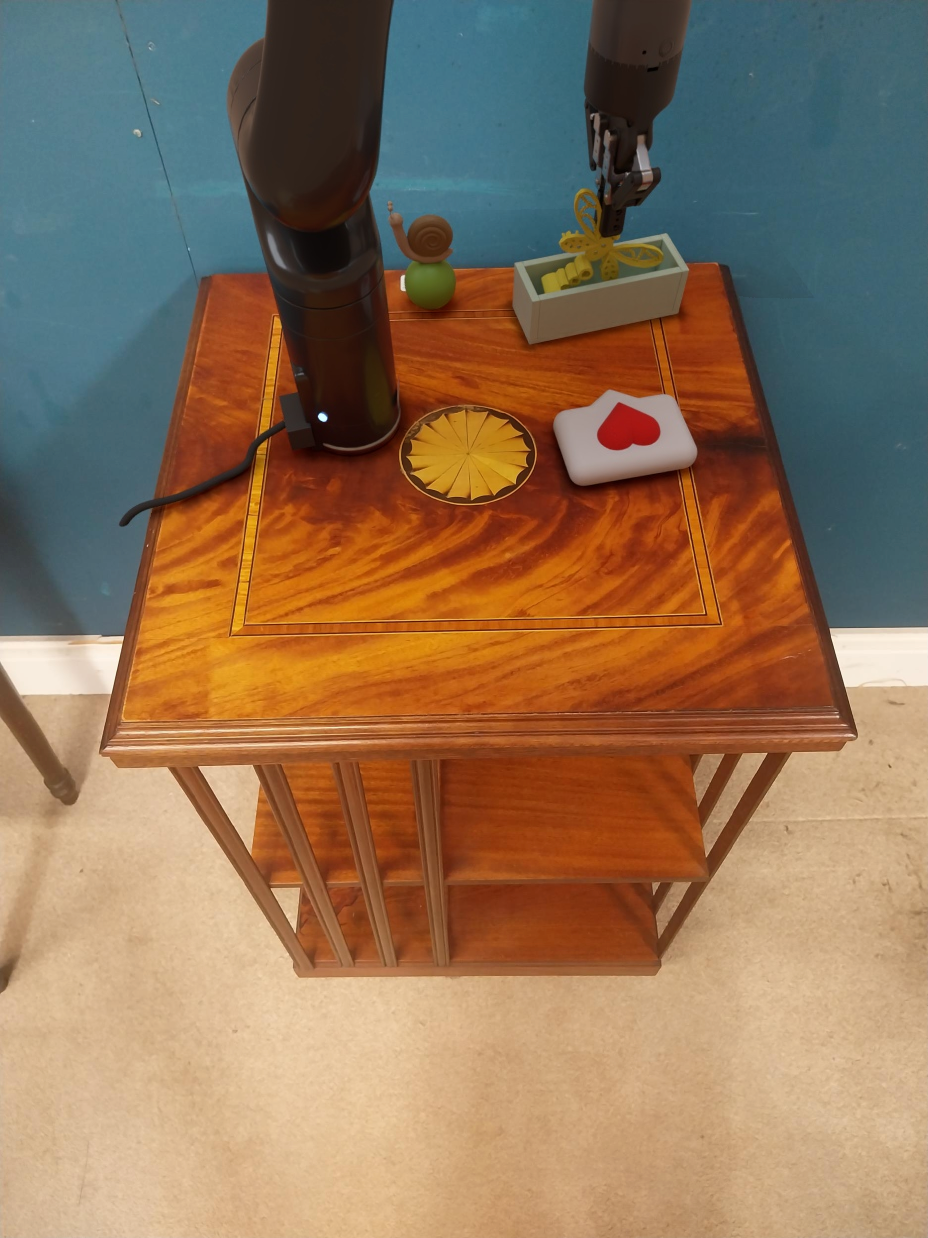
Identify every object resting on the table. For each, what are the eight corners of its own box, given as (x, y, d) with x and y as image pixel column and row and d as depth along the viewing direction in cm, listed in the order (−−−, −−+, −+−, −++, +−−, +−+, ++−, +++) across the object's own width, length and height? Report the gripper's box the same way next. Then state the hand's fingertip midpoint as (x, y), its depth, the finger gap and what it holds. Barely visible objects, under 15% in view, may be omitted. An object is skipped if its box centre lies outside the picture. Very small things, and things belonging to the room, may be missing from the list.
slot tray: (529, 344, 88) (532, 301, 83) (512, 306, 91) (514, 262, 86) (678, 313, 90) (689, 269, 85) (657, 276, 93) (666, 232, 88)
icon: (672, 362, 81) (708, 441, 76) (663, 394, 84) (697, 472, 80) (548, 382, 80) (576, 463, 75) (544, 414, 83) (571, 494, 79)
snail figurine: (395, 288, 93) (385, 186, 82) (453, 283, 93) (451, 180, 82) (398, 323, 90) (388, 221, 79) (459, 318, 90) (456, 216, 80)
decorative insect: (589, 312, 92) (664, 250, 86) (595, 334, 91) (672, 272, 85) (506, 253, 84) (583, 179, 78) (511, 277, 82) (590, 203, 76)
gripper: (564, -1, 70) (549, 194, 85) (622, 87, 63) (594, 282, 78) (650, -15, 71) (619, 181, 86) (715, 71, 64) (670, 267, 79)
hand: (607, 229), depth 82 cm, fingers closed on decorative insect, 1 cm apart
